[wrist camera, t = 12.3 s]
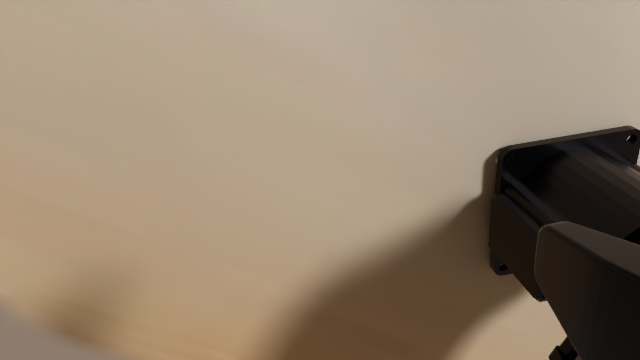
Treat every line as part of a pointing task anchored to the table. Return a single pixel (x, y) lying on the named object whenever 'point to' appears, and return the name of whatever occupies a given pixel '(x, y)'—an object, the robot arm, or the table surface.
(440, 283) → the table surface
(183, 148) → the table surface
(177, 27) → the table surface
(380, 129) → the table surface
